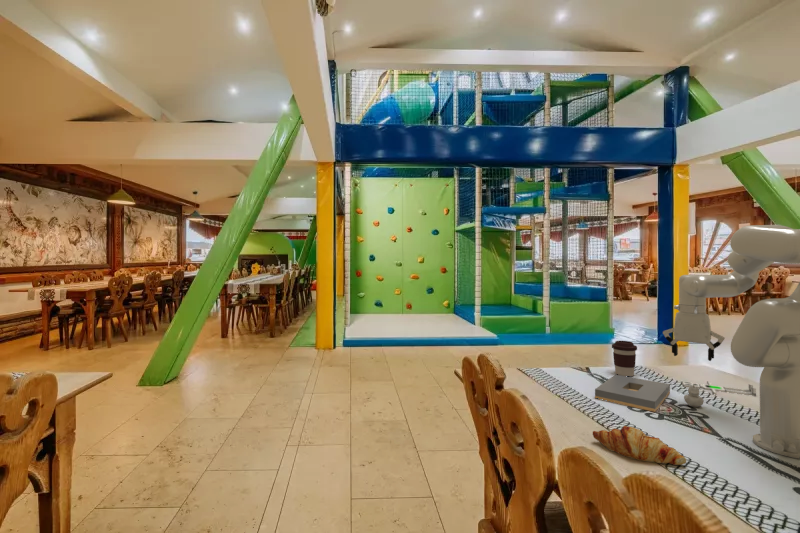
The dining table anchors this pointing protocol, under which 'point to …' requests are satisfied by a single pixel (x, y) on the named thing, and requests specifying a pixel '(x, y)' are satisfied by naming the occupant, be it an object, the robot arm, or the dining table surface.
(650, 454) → the croissant
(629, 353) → the coffee cup
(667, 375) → the dining table surface
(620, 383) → the block
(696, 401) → the rubber duck
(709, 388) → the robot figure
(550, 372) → the dining table surface
